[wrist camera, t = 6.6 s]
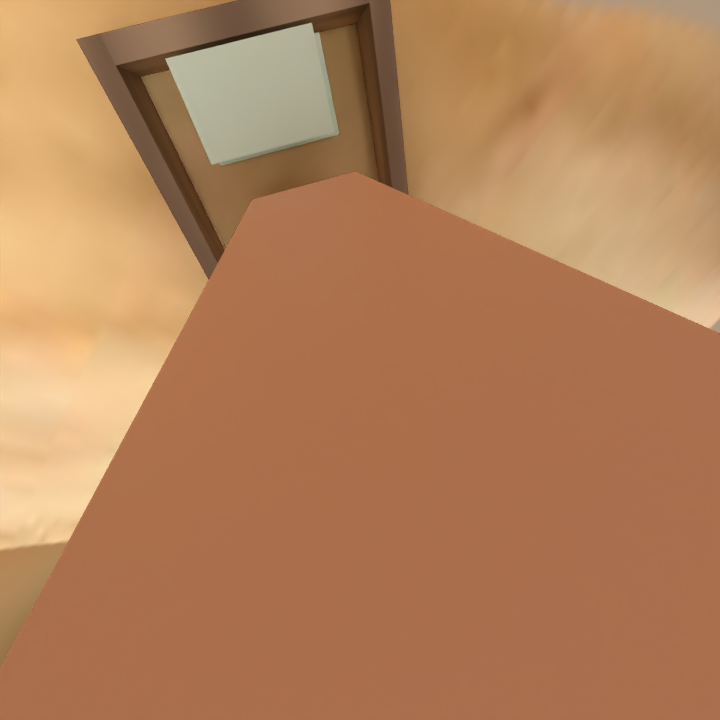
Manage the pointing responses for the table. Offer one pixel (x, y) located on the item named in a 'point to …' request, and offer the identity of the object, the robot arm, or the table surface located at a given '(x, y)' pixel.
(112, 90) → the frame
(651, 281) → the table surface
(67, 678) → the tall pink block
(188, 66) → the pale green block
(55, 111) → the table surface
